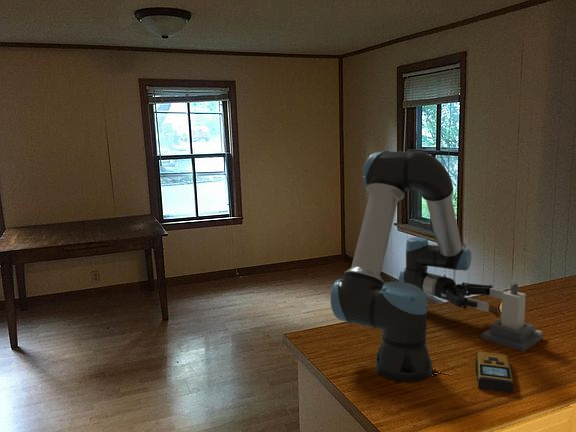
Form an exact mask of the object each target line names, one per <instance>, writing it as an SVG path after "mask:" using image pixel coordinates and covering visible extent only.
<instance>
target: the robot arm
mask: <svg viewBox="0 0 576 432" xmlns="http://www.w3.org/2000/svg"><path fill="white" fill-rule="evenodd" d="M362 174H363V176H362V181H363V184H364V186H365V187H366V191H367V194H369V197H368V201H367V204H366V209H365V213H364V216H363V220H362V224H361V229H360V231H359V236H358V240H357V243H356V248H355V251H354V254H353V255H354V256H353V259H352V263H351V267H350V268H348V269H347V270H346V271H344V273H343V277H342V278H339V279H337V280H336V281H334V283H333V284H332V287H331V290H330V291H331V292H330V308H331V311H332V313H333V315H334V316H335V317H336V318H337V319H338V320H339V321H343V322H346V323H349V324H355V325H360V326H364V327H368V328H373V329H377V330H381V342H380V346H379V349H378V351H377V354H376V356H375V370H376V372H377V373H378V374H379V375H381V376H382V377H384V378H386V379H387V380H388V379H389V380H391V381H396V382H399V383H416V382H417V383H419V382H422V381H424V380H426V379H429V378H430V377H431V376H432V374H433V361H432V359H431V355H430V353H429V352H430V351H429V349H428V345H427V324H428V323H427V322H428V321H427V318H428V315H427V313H428V306H427V305H428V304H427V303H428V302H427V296H426V295H428V296H431V297H432V298H434V297H436V298H439V299H442V300H445V301H447V302H449V303H451V304H452V305H454V306H456V307H457V308H462V309H464V310H466V309H467V307H469V308H472V309H475V310H479V311H482V312H486V313H488V312H489V310H490V309H489V308H490V307H489V305H490V304H489V302H486V301H484V300H479V299H475V298H472V297H469V296H472V295H474V296H475V295H477V296H478V295H480V296H489V297H491V298H496V299H499V300H502V293H504V292H506V291H505V290H502V289H497V288H494V287H493V285H491V284H490V285H487V284H478V283H467V282H461V283H457V284H456V282H455V280H454V279H453V278H451V277H447V276H443V275H439V274H434V273H431V272H428V267H433V268H440V269H446V270H453V271H464V272H465V271H467V270H469V268H470V266H471V264H472V263H471V262H472V251H471V250H470V249H469V248H465V247H463V245H462V241H461V237H460V231H459V227H458V222H457V216H456V211H455V207H454V203H453V197H452V194H453V192H454V184H453V180H452V178H451V176H450V174H449V172H448V170H447V169H446V167H445V166H444V165H443V163H442V162H440V161H439V159H437V158H436V157H434V155H431V154H430V153H427V152H425V151H420V150H419V151H418V150H417V151H412V150H411V151H409V150H408V151H389V150H383V151H376V152H374V153H373V152H372V154H370V155H369V156H368V157H367V159H366V161H365V163H364V165H363V170H362ZM406 191H418V192H420V196H421V197H422V199H424V201H426V202H425V203H426V205H427V209H428V214H429V218H430V220H431V224H432V229H433V233H434V237H435V241H436V243H437V245H436V244H435V245H434V244H429V240H428V239H427V238H426V237H425V238H424V237H421V236H415V237H409V238H407V240H406V244H405V245H406V246H405V247H406V248H405V267H404V268H402V269H401V270H400V272H399V276H398V281H387V282H385V281H384V279H383V278H382V276H381V273H382V269H383V265H384V262H385V256H386V252H387V247H388V245H389V239H390V235H391V232H392V227H393V223H394V220H395V219H394V218H395V214H396V210H397V205H398V202H399V201H401V200H403V199H404V198H405V194H406ZM431 297H430V298H431Z"/></svg>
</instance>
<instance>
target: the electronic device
mask: <svg viewBox="0 0 576 432" xmlns="http://www.w3.org/2000/svg"><path fill="white" fill-rule="evenodd" d="M509 357H510V356H508V355H507V354H501V353H494V352H493V353H491V352H487V351H486V352H484V351H478V352H476V353H475V363H474V364H475V375H476V381H477V384H478V385H477V386H478V389H479V390H486V391H494V392H500V393H506V394H507V393H508V394H513V393H514V389H515V385H514V374H513V368H512V365H511V363H510V358H509Z"/></svg>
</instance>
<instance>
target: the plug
mask: <svg viewBox="0 0 576 432" xmlns="http://www.w3.org/2000/svg"><path fill="white" fill-rule="evenodd" d="M526 297H527V295H526V293H523V292H519V284H518V283H514V282H511V283H510V289H508V290H507V291H506V292H504V293H502V299H501V312H500V313H501V315H500V317H501V318H500V319H501V326H505V327H508V328H512V329H515V330H520V329H522V328H524V322H525V314H526V313H525V312H526Z"/></svg>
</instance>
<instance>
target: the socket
mask: <svg viewBox="0 0 576 432" xmlns="http://www.w3.org/2000/svg"><path fill="white" fill-rule="evenodd" d="M535 326H536V324H532V323H528V322H525V321H524V328H522V329H520V330H515V329H512V328H508V327H505V326H501V318H499V319H497V320H496V321H494V322H492V323H490V324H489V327H490V329H487V330H485V331H484V332H482V333H480V334H481V335H480V337H481V339H483V340H485V341H489V342H492V343H494V342H495V344H498V345H501V346H504V347H507V348H510V349H513V350H516V351H520V352H525V351H527V350H528V349H529V348H531V347H533V346H534V345H536V344H537V343H539V342H540V341H542V340H543V338H544V334H543V331H542V330H539V329H535V328H536V327H535Z"/></svg>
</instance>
